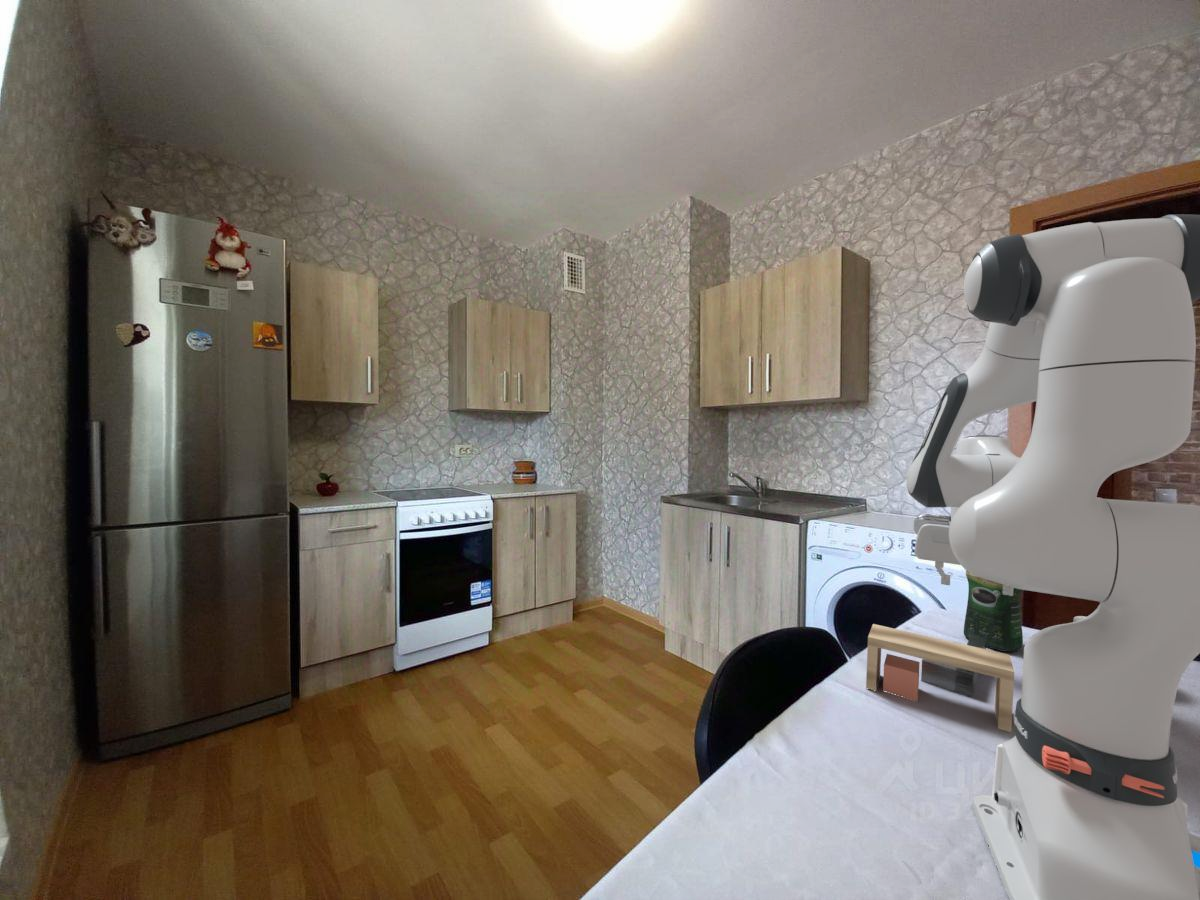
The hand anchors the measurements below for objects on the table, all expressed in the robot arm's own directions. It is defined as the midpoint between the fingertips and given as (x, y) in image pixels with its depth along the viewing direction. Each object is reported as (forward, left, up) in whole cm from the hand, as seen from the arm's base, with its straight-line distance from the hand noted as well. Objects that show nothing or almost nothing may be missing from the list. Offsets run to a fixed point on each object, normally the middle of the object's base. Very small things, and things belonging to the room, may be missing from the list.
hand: (975, 589), depth 91 cm
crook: (-2, +3, -16) cm, 16 cm away
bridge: (-19, +6, -15) cm, 25 cm away
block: (-19, +10, -16) cm, 26 cm away
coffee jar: (+16, -4, -16) cm, 23 cm away
